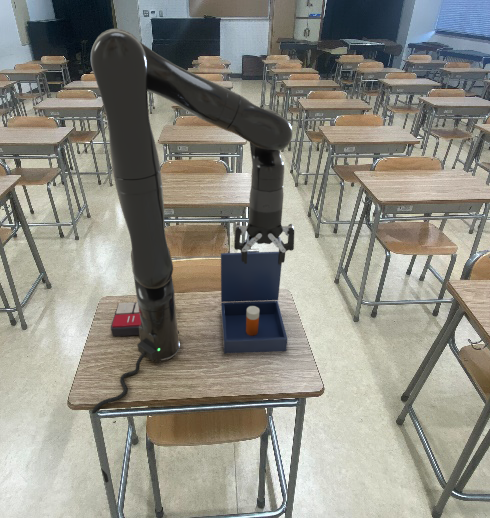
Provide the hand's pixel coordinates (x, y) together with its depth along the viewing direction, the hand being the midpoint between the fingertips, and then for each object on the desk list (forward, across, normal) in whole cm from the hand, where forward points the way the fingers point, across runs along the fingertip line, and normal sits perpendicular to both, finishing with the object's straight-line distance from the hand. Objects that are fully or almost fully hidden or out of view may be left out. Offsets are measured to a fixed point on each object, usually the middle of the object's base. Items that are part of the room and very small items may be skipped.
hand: (262, 262), depth 99 cm
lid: (+10, -2, +7) cm, 13 cm away
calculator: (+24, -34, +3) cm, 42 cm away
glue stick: (+23, -2, 0) cm, 23 cm away
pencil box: (+24, -2, 0) cm, 24 cm away
